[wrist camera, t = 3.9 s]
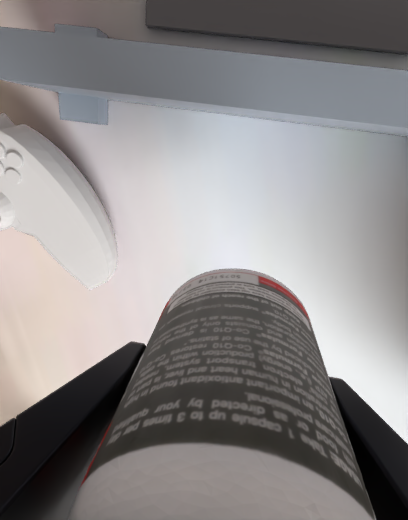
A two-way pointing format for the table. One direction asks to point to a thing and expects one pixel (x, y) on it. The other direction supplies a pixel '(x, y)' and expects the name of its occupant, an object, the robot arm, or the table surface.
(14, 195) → the game controller
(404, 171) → the table surface
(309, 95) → the screen
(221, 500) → the pill bottle
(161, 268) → the table surface
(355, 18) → the mat
